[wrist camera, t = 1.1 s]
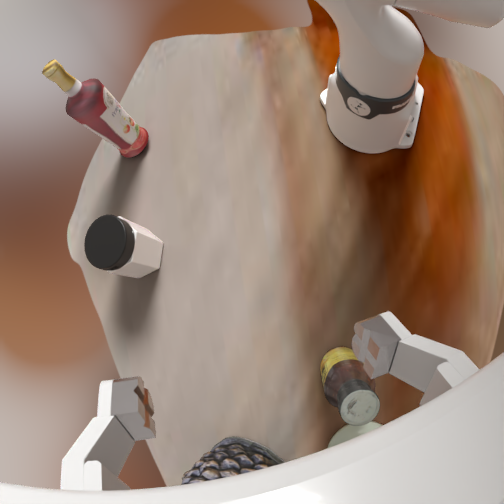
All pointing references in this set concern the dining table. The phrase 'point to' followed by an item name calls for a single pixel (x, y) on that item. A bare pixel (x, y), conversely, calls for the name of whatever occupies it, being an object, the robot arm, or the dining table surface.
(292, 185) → the dining table surface
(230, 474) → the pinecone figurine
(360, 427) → the round plate
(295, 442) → the dining table surface
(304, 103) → the dining table surface
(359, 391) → the sauce bottle
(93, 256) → the jar
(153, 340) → the dining table surface
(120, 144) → the liquor
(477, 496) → the robot arm
